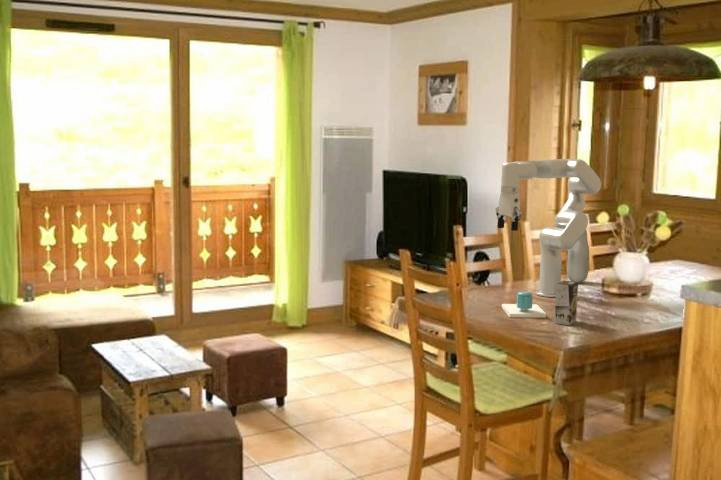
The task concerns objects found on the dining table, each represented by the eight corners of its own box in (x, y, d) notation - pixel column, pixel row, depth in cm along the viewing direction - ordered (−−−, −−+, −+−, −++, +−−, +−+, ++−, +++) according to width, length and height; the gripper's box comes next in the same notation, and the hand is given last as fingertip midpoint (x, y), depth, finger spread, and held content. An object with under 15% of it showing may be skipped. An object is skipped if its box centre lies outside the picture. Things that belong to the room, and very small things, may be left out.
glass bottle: (570, 279, 399) (573, 225, 395) (590, 282, 393) (593, 227, 389) (563, 282, 391) (566, 227, 387) (583, 285, 386) (586, 229, 382)
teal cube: (529, 305, 326) (530, 291, 325) (533, 309, 320) (533, 294, 319) (515, 305, 326) (516, 291, 325) (518, 308, 320) (519, 294, 319)
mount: (536, 307, 336) (537, 289, 335) (546, 317, 318) (547, 298, 317) (501, 307, 336) (502, 289, 335) (509, 317, 318) (510, 298, 317)
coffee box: (569, 325, 306) (571, 285, 303) (553, 323, 309) (555, 283, 307) (576, 320, 313) (578, 281, 311) (561, 318, 317) (562, 279, 314)
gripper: (529, 192, 337) (526, 231, 339) (504, 189, 352) (502, 226, 354) (515, 192, 333) (512, 231, 336) (490, 189, 349) (488, 227, 351)
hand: (507, 229), depth 345 cm, fingers open, 9 cm apart
